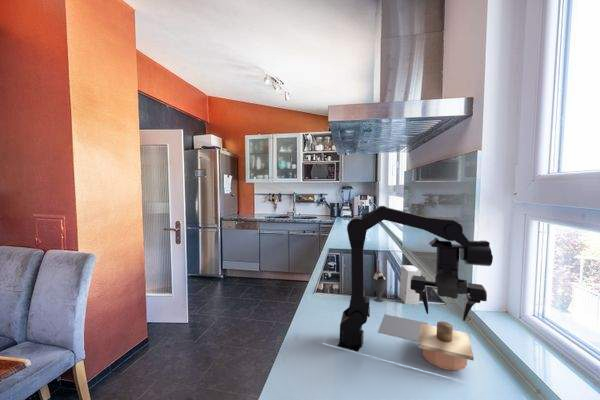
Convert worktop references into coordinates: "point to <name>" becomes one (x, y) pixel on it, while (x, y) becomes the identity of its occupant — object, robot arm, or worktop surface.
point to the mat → (401, 327)
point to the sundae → (378, 284)
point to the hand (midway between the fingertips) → (445, 316)
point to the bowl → (444, 360)
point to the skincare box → (408, 285)
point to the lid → (445, 340)
